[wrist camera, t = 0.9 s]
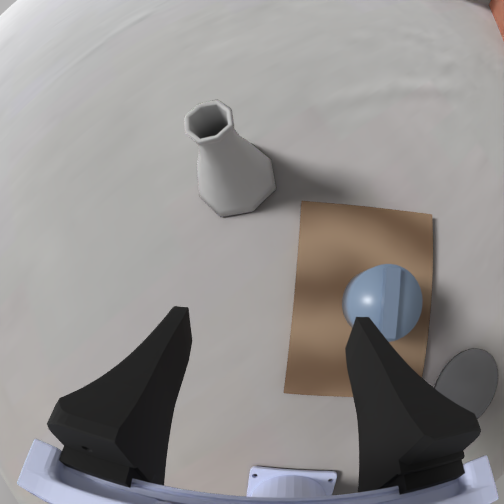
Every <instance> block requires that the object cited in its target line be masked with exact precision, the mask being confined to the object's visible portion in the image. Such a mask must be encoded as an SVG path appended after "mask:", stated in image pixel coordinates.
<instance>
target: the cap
mask: <svg viewBox="0 0 504 504" xmlns="http://www.w3.org/2000/svg"><path fill="white" fill-rule="evenodd" d="M342 310H343V314H344V317H345V319H346V321H347V323H348V324H349V325H350V326H351V328H353V325H354V322H355V319H356V317H369V318H370V319H371V320H372V321H373V323H374V324H375V325H376V327H377V328H378V329H379V330H380V332H381V333H382V334H383V336H384V337H385V338H386V339H387V341H388V342H391V341H395V340H398V339H400V338H402V337H404V336H405V335H407V334H408V333H409V332H410V331H411V330H412V329H413V328H414V326H415V325H416V323H417V321H418V320H419V317H420V315H421V311H422V292H421V289H420V286H419V284H418V282H417V280H416V279H415V277H414V276H413V275H412V274H411V273H410V272H409V271H408V270H406V269H405V268H403V267H401V266H398V265H394V264H382V265H378V266H375V267H373V268H370V269H368V270H365V271H363V272H361V273H359V274H357V275H356V276H355V277H353V278H352V279H351V280H350V282H349V283H348V285H347V286H346V288H345V291H344V294H343V298H342Z"/></svg>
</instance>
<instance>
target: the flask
mask: <svg viewBox="0 0 504 504" xmlns="http://www.w3.org/2000/svg"><path fill="white" fill-rule="evenodd" d="M184 123H185V133H186V135H188V136H189V137H190V138H191V139H192V140H193V141H195V142H196V143H197V144H198V148H199V157H198V162H197V178H198V189H199V197H200V198H201V199H202V200H203V201H204V202H205V203H206V204H207V205H208V206H209V207H210V208H211V209H212V210H214V211H215V212H216V213H217V214H218V215H219V216H220V217H224V216H230V215H236V214H242V213H247V212H253V211H254V210H255V209H256V208H257V207H258V206H259V205H260V204H261V203H262V202H263V201H264V200H265V199H266V198H267V197H268V196H269V195H270V194H271V193H272V192H273V191H274V190H275V189H276V185H275V180H274V174H273V169H272V163H271V159H269V158H268V157H267V156H266V155H265V154H263V153H262V152H261V151H260V150H258V149H257V148H256V147H255V146H254V145H252V144H251V143H250V142H249V141H247V140H246V139H244V138H242V137H241V136H239V134H238V133H237V132H236V130H235V129H234V122H233V115H232V110H231V108H229V107H228V106H227V105H225V104H224V103H222V102H221V101H220V100H218V99H217V100H212V101H208V102H203V103H199V104H198V105H197V106H195V107H194V108H193V109H192V110H191V111H190V112H188V113H187V114H186V115H185V116H184Z"/></svg>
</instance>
